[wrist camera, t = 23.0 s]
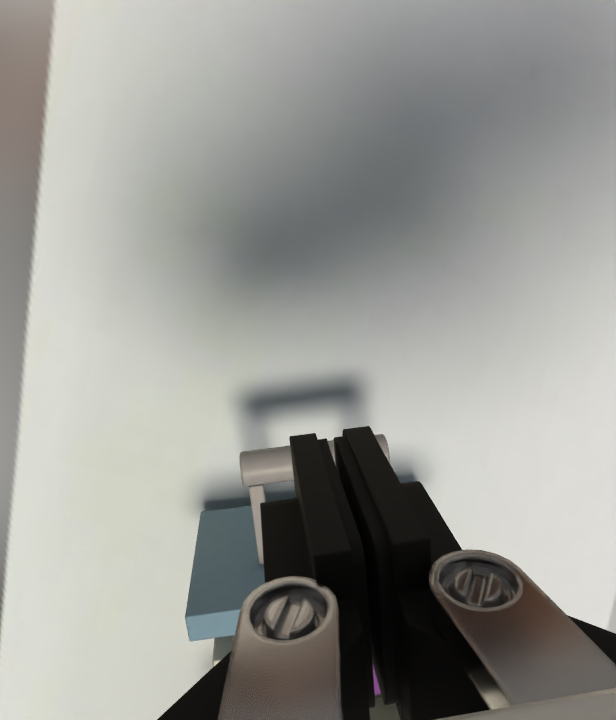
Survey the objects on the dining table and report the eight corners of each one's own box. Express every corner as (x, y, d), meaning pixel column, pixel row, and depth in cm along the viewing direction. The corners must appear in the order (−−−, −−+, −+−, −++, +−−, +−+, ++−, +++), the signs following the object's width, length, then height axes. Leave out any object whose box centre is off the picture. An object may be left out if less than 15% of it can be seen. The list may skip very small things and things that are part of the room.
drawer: (184, 417, 27) (161, 498, 20) (417, 389, 27) (474, 458, 20) (234, 712, 32) (230, 856, 25) (426, 682, 33) (473, 814, 26)
